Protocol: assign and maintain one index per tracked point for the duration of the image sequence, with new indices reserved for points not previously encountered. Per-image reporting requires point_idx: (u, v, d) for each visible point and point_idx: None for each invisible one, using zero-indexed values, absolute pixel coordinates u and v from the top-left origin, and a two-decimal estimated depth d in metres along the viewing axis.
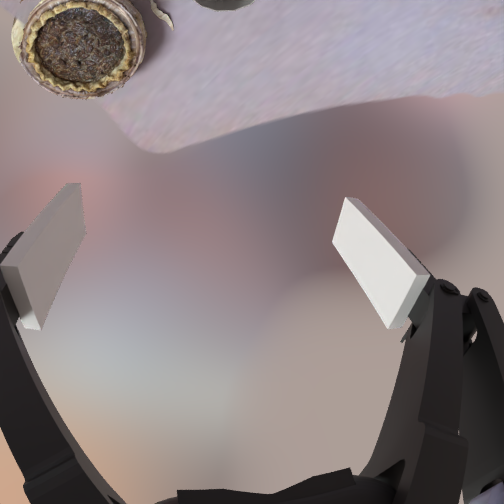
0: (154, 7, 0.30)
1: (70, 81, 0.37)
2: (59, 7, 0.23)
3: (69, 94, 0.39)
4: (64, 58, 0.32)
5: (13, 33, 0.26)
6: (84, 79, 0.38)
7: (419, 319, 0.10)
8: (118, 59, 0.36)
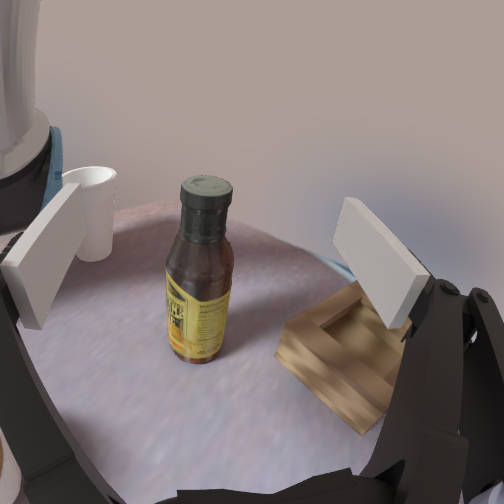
0: None
1: None
2: None
3: None
4: None
5: None
6: None
7: (419, 319, 0.10)
8: None
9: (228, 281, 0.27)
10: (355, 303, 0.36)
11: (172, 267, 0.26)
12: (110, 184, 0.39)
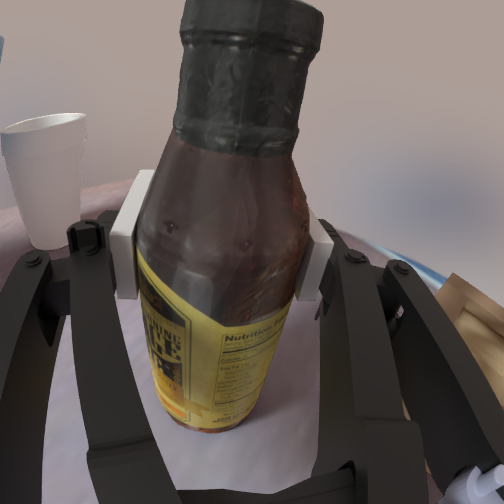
0: None
1: None
2: None
3: None
4: None
5: None
6: None
7: (329, 294, 0.11)
8: None
9: (296, 271, 0.11)
10: None
11: (149, 233, 0.09)
12: (73, 127, 0.23)
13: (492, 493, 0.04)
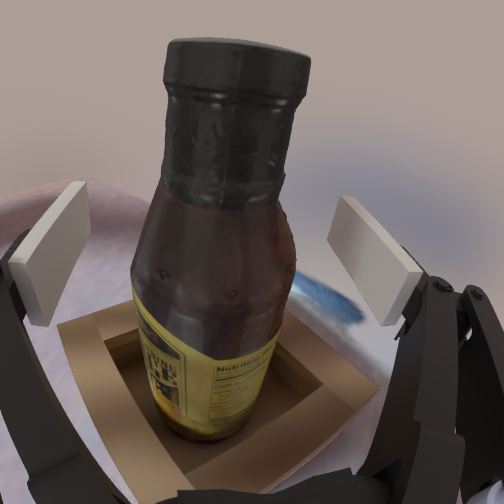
0: None
1: None
2: None
3: None
4: None
5: None
6: None
7: (413, 317, 0.10)
8: None
9: (283, 306, 0.11)
10: None
11: (143, 277, 0.10)
12: None
13: None
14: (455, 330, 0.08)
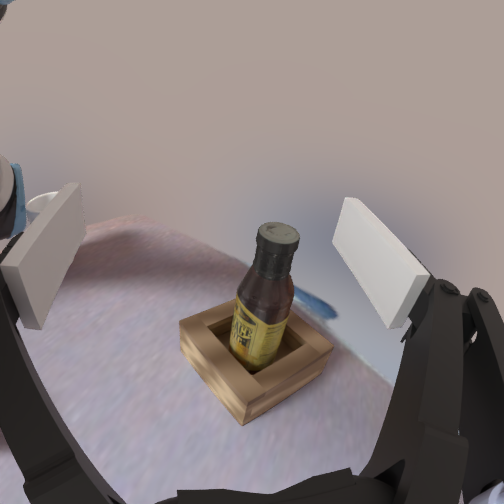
0: None
1: None
2: None
3: None
4: None
5: None
6: None
7: (419, 319, 0.10)
8: None
9: (289, 307, 0.33)
10: None
11: (246, 298, 0.31)
12: None
13: None
14: (461, 333, 0.08)
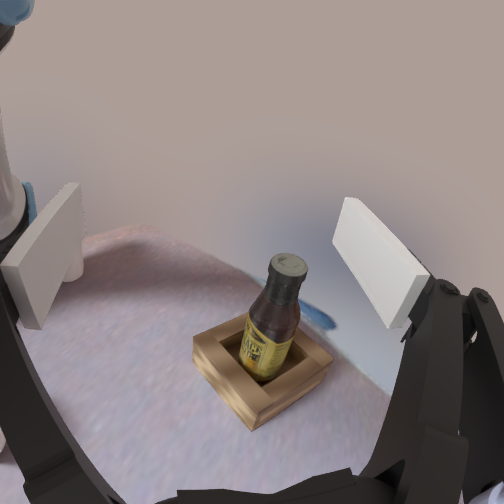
0: None
1: None
2: None
3: None
4: None
5: None
6: None
7: (419, 319, 0.10)
8: None
9: (296, 327, 0.36)
10: None
11: (257, 320, 0.34)
12: None
13: None
14: (461, 333, 0.08)
